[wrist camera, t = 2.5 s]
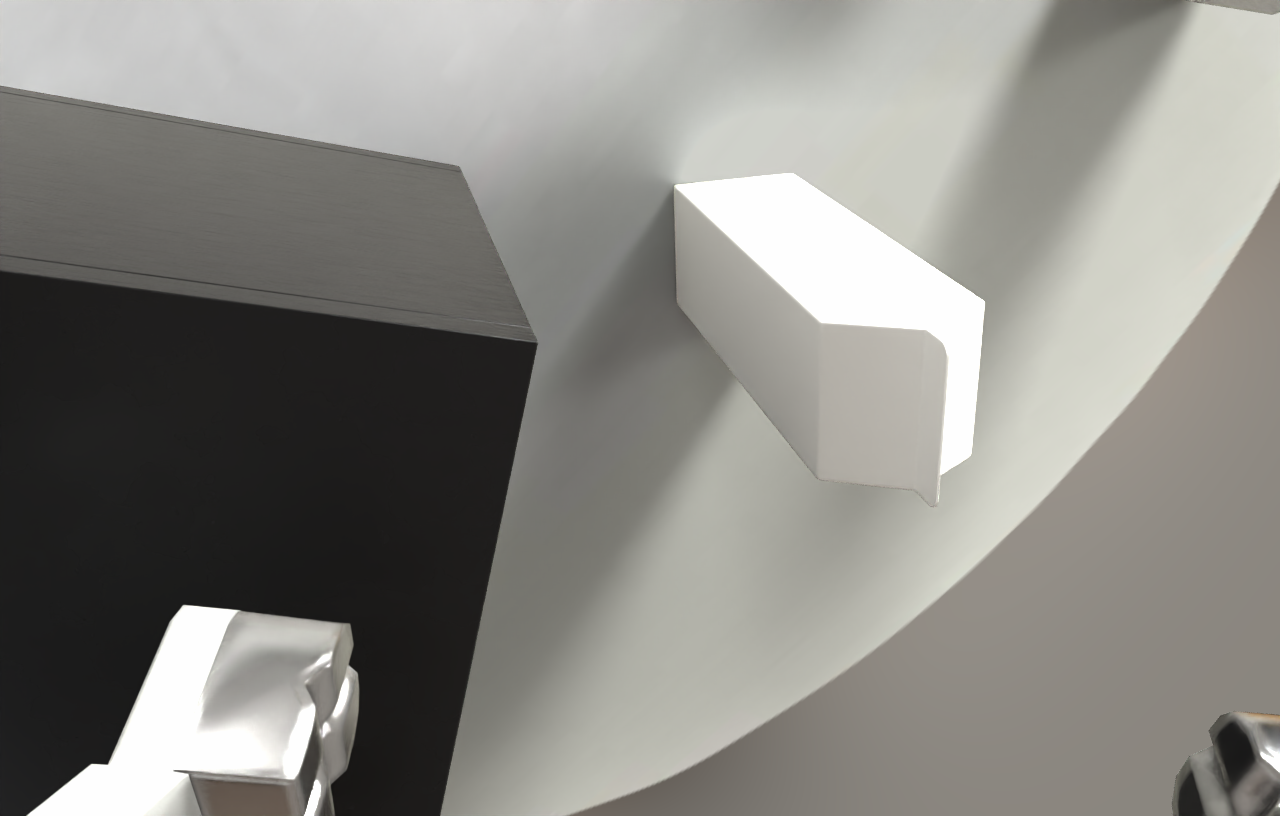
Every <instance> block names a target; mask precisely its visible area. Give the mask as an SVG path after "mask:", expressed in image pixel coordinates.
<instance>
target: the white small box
mask: <svg viewBox="0 0 1280 816" xmlns="http://www.w3.org/2000/svg"><path fill="white" fill-rule="evenodd" d="M1186 1H1191V2H1197V3H1203V4H1209V5H1215V6H1221V7H1228V8H1234V9H1240V10H1246V11H1252V12H1258V13H1264V14H1271V15H1273V14H1276V13H1279V12H1280V0H1186Z"/></svg>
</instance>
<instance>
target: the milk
mask: <svg viewBox="0 0 1280 816" xmlns="http://www.w3.org/2000/svg"><path fill="white" fill-rule="evenodd" d="M674 220H675V256H676V293H677V304H678V305H679V307H680V308H681V309H682V310H683V312H684V313H685V314H686V315H687V317H688V318H689V319H690V320H691V322H692V323H693V324H694V326H695V327H696V328H697V329H698V331H699V332H700V333H701V334H702V336H703V337H704V338H705V339H706V341H707V342H708V343H709V344H710V346H711V347H712V348H713V349H714V351H715V352H716V353H717V354H718V356H719V357H720V358H721V359H722V361H723V362H724V363H725V364H726V366H727V367H728V368H729V369H730V371H731V372H732V373H733V374H734V376H735V377H736V378H737V379H738V381H739V382H740V383H741V384H742V386H743V387H744V388H745V389H746V391H747V392H748V393H749V394H750V396H751V397H752V398H753V399H754V401H755V402H756V403H757V404H758V406H759V407H760V408H761V409H762V411H763V412H764V413H765V414H766V416H767V417H768V418H769V419H770V421H771V422H772V423H773V424H774V426H775V427H776V428H777V429H778V431H779V432H780V433H781V434H782V436H783V437H784V438H785V439H786V441H787V442H788V443H789V445H790V446H791V447H792V448H793V450H794V451H795V452H796V453H797V455H798V456H799V457H800V458H801V460H802V461H803V462H804V463H805V465H806V466H807V467H808V468H809V470H810V471H811V472H812V473H813V475H814V476H815V477H816V478H817V479H819V480H823V481H831V482H841V483H850V484H859V485H869V486H878V487H887V488H897V489H906V490H914V491H916V492H917V493H918V494H919V495H920V496H921V497H922V498H923V499H924V500H925V502H926V503H927V504H928V505H929V506H931V507H936V506H937V505H938V501H939V488H940V476H941V475H942V474H944V473H945V472H947V471H948V470H950V469H952V468H953V467H955V466H956V465H958V464H960V463H961V462H963V461H964V460H966V459H967V458H969V457H970V456H971V452H972V442H973V431H974V419H975V408H976V397H977V386H978V375H979V363H980V352H981V341H982V330H983V319H984V307H985V302H984V301H983V300H982V299H980V298H979V297H977V296H976V295H974V294H973V293H971V292H970V291H968V290H967V289H965V288H964V287H962V286H961V285H959V284H958V283H956V282H955V281H953V280H952V279H950V278H949V277H947V276H946V275H944V274H943V273H941V272H940V271H938V270H937V269H935V268H934V267H932V266H931V265H929V264H928V263H926V262H925V261H923V260H922V259H920V258H919V257H917V256H916V255H914V254H913V253H911V252H910V251H908V250H907V249H905V248H904V247H902V246H901V245H899V244H898V243H896V242H895V241H893V240H892V239H890V238H889V237H887V236H886V235H884V234H883V233H881V232H880V231H878V230H877V229H875V228H874V227H872V226H871V225H869V224H868V223H866V222H865V221H863V220H862V219H860V218H859V217H857V216H856V215H854V214H853V213H851V212H850V211H849V210H847V209H846V208H844V207H843V206H841V205H840V204H838V203H837V202H835V201H834V200H832V199H831V198H829V197H828V196H826V195H825V194H823V193H822V192H820V191H819V190H817V189H816V188H814V187H813V186H811V185H810V184H808V183H807V182H805V181H804V180H802V179H801V178H799V177H798V176H796V175H795V174H793V173H788V174H778V175H768V176H758V177H748V178H738V179H728V180H718V181H708V182H699V183H689V184H679V185H674Z"/></svg>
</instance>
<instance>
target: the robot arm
mask: <svg viewBox="0 0 1280 816" xmlns="http://www.w3.org/2000/svg"><path fill="white" fill-rule="evenodd" d="M353 646H354V643H353V638H352V632H351V627H350V623H341V622H332V621H323V620H314V619H305V618H297V617H288V616H279V615H270V614H261V613H252V612H243V611H240V610H231V609H220V608H210V607H200V606H190V605H183V606H182V607H181V608H180V610H179V611H178V612H177V613H176V615H175V616H174V617H173V618H172V620H171V621H170V622H169V625H168V627H167V629H166V632H165V634H164V636H163V639H162V641H161V643H160V646H159V648H158V650H157V653H156V655H155V657H154V659H153V662H152V664H151V666H150V669H149V671H148V673H147V676H146V678H145V680H144V683H143V685H142V687H141V689H140V692H139V694H138V696H137V699H136V701H135V703H134V706H133V708H132V710H131V713H130V715H129V717H128V720H127V722H126V724H125V726H124V729H123V731H122V733H121V736H120V738H119V740H118V743H117V745H116V747H115V750H114V752H113V754H112V756H111V759H110V761H109V763H108V765H103V764H90V765H89V766H88V767H87V768H85V769H84V770H83V771H82V772H80V773H79V774H78V775H77V776H75V777H74V778H73V779H72V780H70V781H69V782H68V783H67V784H65V785H64V786H63V787H62V788H60V789H59V790H58V791H57V792H55V793H54V794H53V795H52V796H50V797H49V798H48V799H47V800H45V801H44V802H43V803H42V804H40V805H39V806H38V807H37V808H35V809H34V810H33V811H32V812H30V813H29V814H28V815H27V816H335V812H334V806H333V800H332V794H331V787H330V785H331V784H332V783H333V782H334V781H335V780H336V779H337V778H338V777H339V776H341V775H342V774H343V773H344V772H345V771H346V770H347V767H348V763H349V759H350V755H351V751H352V747H353V743H354V738H355V731H356V725H357V718H358V712H359V682H358V673H357V672H356V671H355V670H353V669H352V668H351V667H350V666H349V665H348V664H349V660H350V657H351V653H352V649H353ZM1209 733H1210V737H1211V740H1212V743H1213V746H1211V747H1209V748H1207V749H1205V750H1202V751H1200V752H1198V753H1196V754H1194V755H1191V756H1189V757H1188V759H1187V760H1186V762H1185V764H1184V765H1183V767H1182V768H1181V770H1180V771H1179V773H1178V774H1177V776H1176V780H1175V787H1174V793H1173V799H1172V810H1173V816H1280V715H1274V714H1262V713H1250V712H1237V711H1233V712H1230V713H1227V714H1224V715H1221V716H1220V717H1219V718H1218V719H1217V721H1216V722H1215V723H1214V724H1213V726H1212V727H1211V728H1210V730H1209Z"/></svg>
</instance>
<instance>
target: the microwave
mask: <svg viewBox="0 0 1280 816" xmlns="http://www.w3.org/2000/svg"><path fill="white" fill-rule="evenodd" d="M537 345H538V342H537V340H536V337H535V335H534V333H533V331H532V329H531V327H530V324H529V322H528V320H527V318H526V315H525V313H524V311H523V309H522V306H521V304H520V302H519V300H518V297H517V295H516V293H515V291H514V288H513V286H512V284H511V282H510V279H509V277H508V275H507V273H506V270H505V268H504V266H503V264H502V261H501V259H500V257H499V255H498V252H497V250H496V248H495V246H494V243H493V241H492V239H491V237H490V234H489V232H488V230H487V228H486V225H485V223H484V221H483V219H482V216H481V214H480V212H479V209H478V207H477V205H476V203H475V200H474V198H473V196H472V194H471V191H470V189H469V187H468V185H467V182H466V180H465V178H464V176H463V173H462V171H461V169H460V167H459V166H455V165H449V164H444V163H438V162H432V161H426V160H421V159H415V158H409V157H404V156H398V155H392V154H387V153H381V152H375V151H369V150H364V149H358V148H352V147H347V146H341V145H335V144H329V143H324V142H318V141H312V140H307V139H301V138H295V137H290V136H284V135H278V134H272V133H267V132H261V131H255V130H250V129H244V128H238V127H232V126H227V125H221V124H215V123H210V122H204V121H198V120H193V119H187V118H181V117H175V116H170V115H164V114H158V113H153V112H147V111H141V110H135V109H130V108H124V107H118V106H113V105H107V104H101V103H95V102H90V101H84V100H78V99H73V98H67V97H61V96H56V95H50V94H44V93H38V92H33V91H27V90H21V89H16V88H10V87H4V86H0V816H27V815H28V814H29V813H30V812H32V811H33V810H34V809H35V808H37V807H38V806H39V805H40V804H42V803H43V802H44V801H45V800H47V799H48V798H49V797H50V796H52V795H53V794H54V793H55V792H57V791H58V790H59V789H60V788H62V787H63V786H64V785H65V784H67V783H68V782H69V781H70V780H72V779H73V778H74V777H75V776H77V775H78V774H79V773H80V772H82V771H83V770H84V769H85V768H87V767H88V766H89V765H90V764H103V765H108V763H109V761H110V759H111V756H112V754H113V752H114V750H115V747H116V745H117V743H118V740H119V738H120V736H121V733H122V731H123V729H124V726H125V724H126V722H127V720H128V717H129V715H130V713H131V710H132V708H133V706H134V703H135V701H136V699H137V696H138V694H139V692H140V689H141V687H142V685H143V683H144V680H145V678H146V676H147V673H148V671H149V669H150V666H151V664H152V662H153V659H154V657H155V655H156V653H157V650H158V648H159V646H160V643H161V641H162V639H163V636H164V634H165V632H166V629H167V627H168V625H169V622H170V621H171V620H172V618H173V617H174V616H175V615H176V613H177V612H178V611H179V610H180V608H181V607H182V606H183V605H190V606H200V607H210V608H220V609H231V610H240V611H243V612H252V613H261V614H270V615H279V616H288V617H297V618H305V619H314V620H323V621H332V622H341V623H350V627H351V632H352V638H353V643H354V646H353V649H352V653H351V657H350V660H349V664H348V665H349V666H350V667H351V668H352V669H353V670H355V671H356V672H357V673H358V682H359V712H358V718H357V725H356V731H355V738H354V743H353V747H352V751H351V755H350V759H349V763H348V767H347V770H346V771H345V772H344V773H343V774H342V775H341V776H339V777H338V778H337V779H336V780H335V781H334V782H333V783H332V784H331V785H330V787H331V794H332V800H333V806H334V812H335V816H440V814H441V809H442V804H443V799H444V794H445V790H446V785H447V780H448V775H449V770H450V765H451V761H452V756H453V751H454V746H455V741H456V736H457V732H458V727H459V722H460V717H461V712H462V707H463V703H464V698H465V693H466V688H467V683H468V679H469V674H470V669H471V664H472V659H473V654H474V650H475V645H476V640H477V635H478V630H479V625H480V621H481V616H482V611H483V606H484V601H485V596H486V592H487V587H488V582H489V577H490V572H491V567H492V563H493V558H494V553H495V548H496V543H497V538H498V534H499V529H500V524H501V519H502V514H503V509H504V505H505V500H506V495H507V490H508V485H509V480H510V476H511V471H512V466H513V461H514V456H515V451H516V447H517V442H518V437H519V432H520V427H521V422H522V418H523V413H524V408H525V403H526V398H527V393H528V389H529V384H530V379H531V374H532V369H533V364H534V360H535V355H536V350H537Z"/></svg>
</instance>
